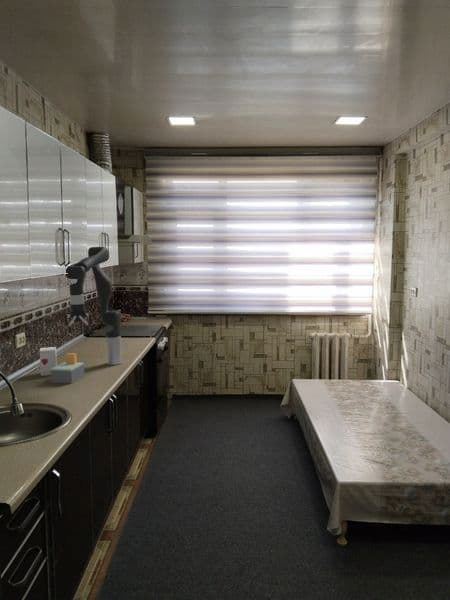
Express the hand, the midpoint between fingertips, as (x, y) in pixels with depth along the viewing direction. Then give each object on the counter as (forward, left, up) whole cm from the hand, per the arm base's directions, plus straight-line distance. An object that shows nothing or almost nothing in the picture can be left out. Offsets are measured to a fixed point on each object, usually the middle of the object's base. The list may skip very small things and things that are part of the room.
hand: (79, 332), depth 281 cm
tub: (-3, -10, -27) cm, 29 cm away
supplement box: (-15, -28, -28) cm, 42 cm away
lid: (-3, -10, -21) cm, 24 cm away
